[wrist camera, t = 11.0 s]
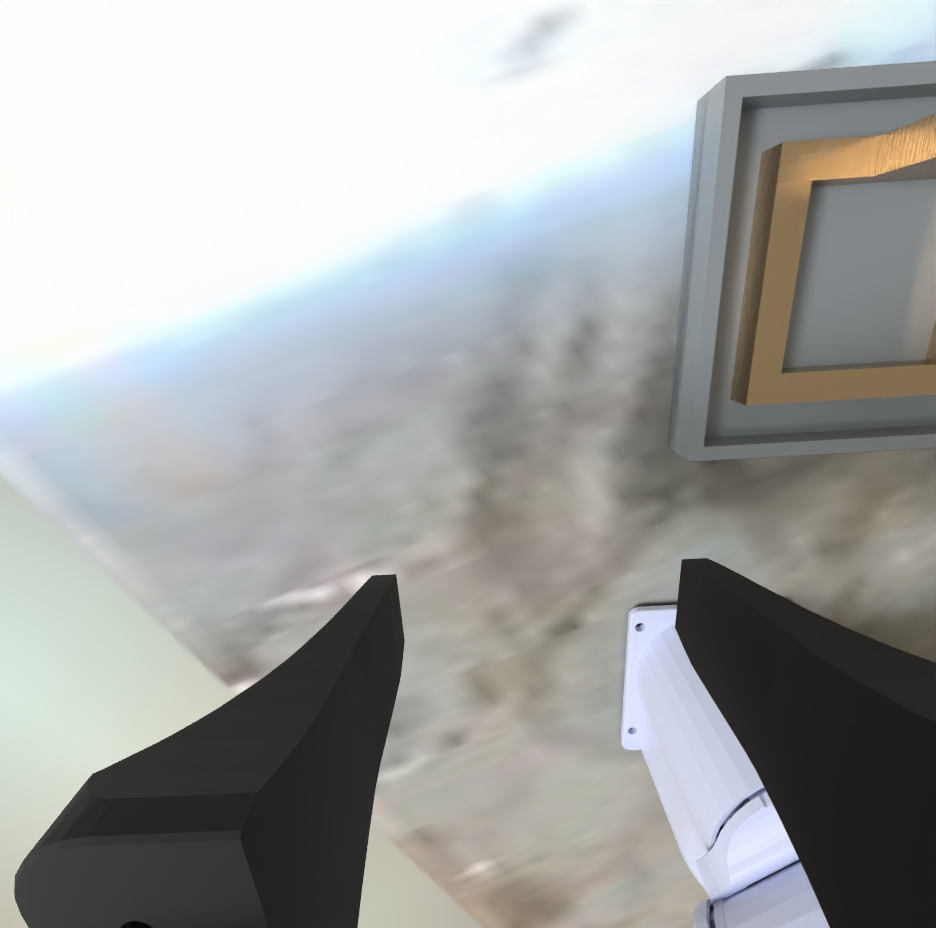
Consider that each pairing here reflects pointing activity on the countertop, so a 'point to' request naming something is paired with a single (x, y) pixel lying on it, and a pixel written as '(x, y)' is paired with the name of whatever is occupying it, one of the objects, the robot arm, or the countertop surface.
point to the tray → (807, 266)
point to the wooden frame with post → (777, 259)
